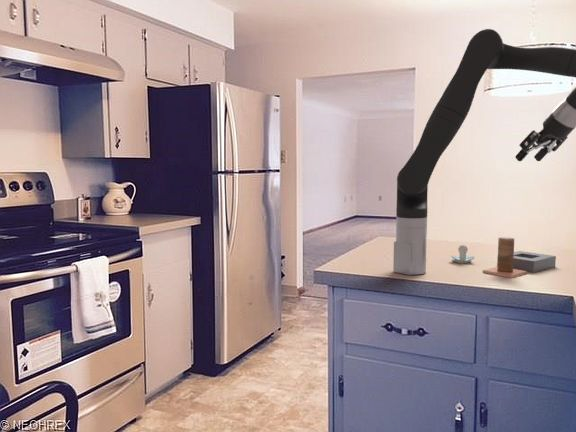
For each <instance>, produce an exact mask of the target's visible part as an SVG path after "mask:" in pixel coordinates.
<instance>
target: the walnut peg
mask: <svg viewBox="0 0 576 432" xmlns="http://www.w3.org/2000/svg"><path fill="white" fill-rule="evenodd" d="M497 240H498V242H497V243H498V244H497V259H498V265H497V264H496V267H497V270H498V271H500V272H513V260H514V252H515V238H514V237H508V236H507V237H498V239H497Z"/></svg>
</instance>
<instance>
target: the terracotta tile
mask: <svg viewBox="0 0 576 432" xmlns="http://www.w3.org/2000/svg"><path fill="white" fill-rule="evenodd" d="M527 272H528V271H523V270H517V269H513V272H500V271H498V270H497V266H495V267H492V268H491V267H490V268H486V269H482V273H483V274H486V275H487V274H488V275H492V276H498V277H504V278H509V279H512V278H517V277H519V276H523V275H526V274H527Z"/></svg>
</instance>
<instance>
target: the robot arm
mask: <svg viewBox="0 0 576 432" xmlns="http://www.w3.org/2000/svg"><path fill="white" fill-rule="evenodd" d="M487 70H519V71H520V70H521V71H529V72H535V73H537V72H538V73H544V74H551V75H557V76H563V77H569V78H570V77H571V78H575V79H576V48H569V47H563V46H539V47H519V46H514V45H510V44H507V43H504V42H503V39H502V36H501V34H499V32H498V31H497V30H494V29H491V28H485V29H481V30H480V31H478V32H477V33H475V34H474V35H473V36H472V37H471V39H470V40H469V42H468V44H467V46H466V49H465V51H464V53H463V56H462V58H461V60H460V63H459V65H458V67H457V69H456V71H455V73H454V75H453V76H452V78H451V79H450V81H449V83H448V85H447V86H446V88H445V90H444V91H443V93H442V95H441V97H440V98H439V100H438V101H437V103H436V105H435V107H434V108H433V111H432V112H431V114H430V116H429V118H428V120H427V121H426V124H425V127H424V129H423V131H422V134H421V137H420V139H419V141H418V144H417V146H416V148H415V149H414V151H413V152H412V154H411V155H410V157H409V159H408V160H407V162H406V163H405V165H404V166H403V167H402V168H401V169H400V170H399V172H398V173H397V176H396V209H395V210H396V217H395V218H396V219H395V220H396V223H395V241H394V242H393V262H392V263H393V268H392V269H393V270H392V272H393V273H398V274H401V275H403V274H404V275H406V276H411V275H415V276H416V275H423V274H426V272H427V243H428V242H427V239H428V238H427V235H428V192H429V191H428V187H429V186H428V185H429V182H430V179H431V177H432V174H433V172H434V170H435V168H436V166H437V164H438V162H439V159H440V158H441V156H443V155H442V154H444V152H445V151H446V150H447V148H448V146H449V145H450V144H451V142H452V141H453V140H454V138H455V136H456V135H457V133H458V132H459V130H460V129H461V127H462V126H463V123H464V122H465V120H466V118H467V116H468V114H469V112H470V109H471V107H472V104H473V101H474V98H475V95H476V92H477V88H478V86H479V84H480V81H481V80H482V78H483V77H484V75H485V73H486V72H487ZM575 129H576V86H575V87H574V89H572V90H571V92H569V93H568V95H567V96H566V97H565V98H564V99H563V100H562V101H561V102H559V104H558V105H557V106H556V107H555V108H554V109H553V110H552V112H551V113H550V114H549V115H548V116H547V117H546V118H545V119H544V121H543V122H542V129H541V130H540V131H539V132H537V131H536V130H535V129H534V130H532V131H531V132H530V133H529V134H528V135H526V137H525V138H524V139H523V140H522V141H521V142H520V143H519V145H518V146H519V147H520V148H521V149H520V150H519V151H518V153H517V154H516V155H515V157H514V158H515V159H516V160H517V161H518V162H522V161H523V160H524V159H525V158H526V157H527V156H528V154H529V153H530V152H532V151H534V150H538V149H539V150H538V151H537V153H535V155H534V159H535V161H537V162H540V161H542V160H543V158H544V157H546V155H548V154H550V153H551V152H552V153H553V152H556V151H557V150H558V149H559V148H560V147H561V146H562V144H564V142H565V141H566V140H567V139H568V136H569V135H570V134H571V133H572V132H573V130H575ZM544 159H545V158H544Z"/></svg>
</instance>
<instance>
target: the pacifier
mask: <svg viewBox="0 0 576 432" xmlns="http://www.w3.org/2000/svg"><path fill="white" fill-rule="evenodd" d="M457 250H458V253H459V256H454V255H451V258H452V259H451V261H452V262H456V263H459V264H469V263H471V262H473V260H474V259H475V256H467V253H468V247H467V245H465V244H461V245H459V247H458V249H457Z"/></svg>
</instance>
